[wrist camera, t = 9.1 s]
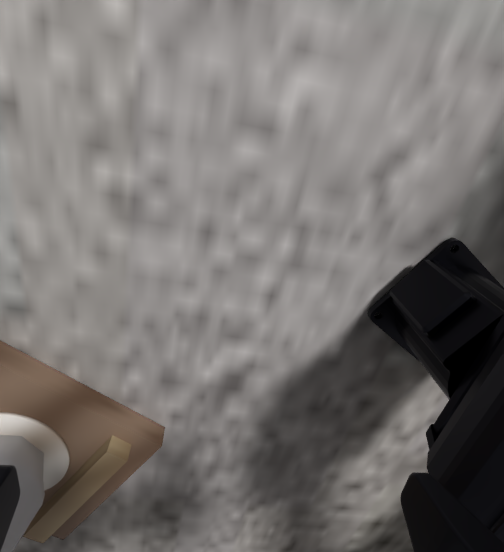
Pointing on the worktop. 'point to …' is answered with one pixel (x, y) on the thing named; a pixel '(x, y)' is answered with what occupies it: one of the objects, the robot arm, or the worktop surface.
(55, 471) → the stand
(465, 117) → the worktop surface
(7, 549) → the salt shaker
